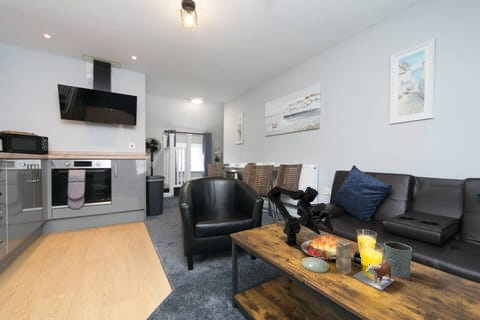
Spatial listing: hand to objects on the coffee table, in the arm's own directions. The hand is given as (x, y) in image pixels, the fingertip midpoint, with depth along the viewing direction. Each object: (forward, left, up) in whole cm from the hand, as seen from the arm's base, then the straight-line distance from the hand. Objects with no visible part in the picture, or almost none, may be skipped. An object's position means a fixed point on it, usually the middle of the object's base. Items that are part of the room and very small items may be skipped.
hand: (326, 232), depth 96 cm
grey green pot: (+15, +26, -15) cm, 33 cm away
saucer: (+1, -7, -15) cm, 17 cm away
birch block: (+8, +3, -15) cm, 17 cm away
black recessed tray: (+3, +17, -16) cm, 23 cm away
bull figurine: (+19, +11, -15) cm, 26 cm away
